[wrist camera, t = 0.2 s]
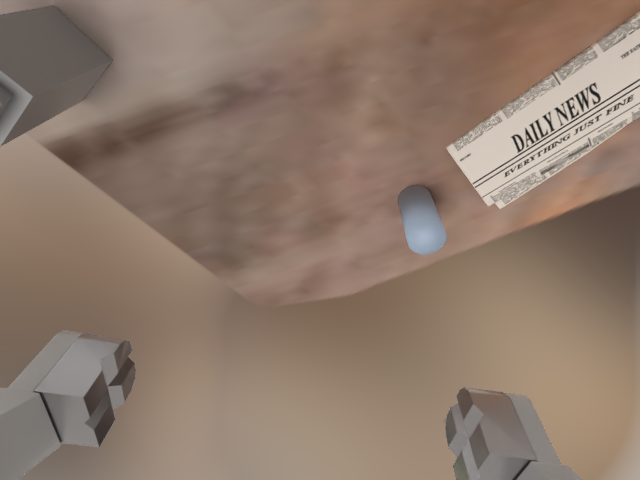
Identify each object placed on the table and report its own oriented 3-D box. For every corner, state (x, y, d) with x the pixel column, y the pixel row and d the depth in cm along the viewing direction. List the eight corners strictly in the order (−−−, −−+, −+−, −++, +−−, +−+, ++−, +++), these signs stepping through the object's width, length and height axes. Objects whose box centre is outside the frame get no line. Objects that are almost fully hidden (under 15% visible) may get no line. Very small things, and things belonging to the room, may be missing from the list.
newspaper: (491, 209, 52) (496, 218, 50) (443, 142, 47) (446, 148, 45) (682, 98, 42) (699, 103, 40) (643, 1, 38) (659, 1, 35)
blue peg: (402, 183, 49) (413, 221, 42) (435, 186, 49) (451, 226, 42) (394, 211, 52) (403, 252, 44) (426, 214, 52) (440, 256, 45)
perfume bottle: (54, 5, 38) (-117, 34, 24) (112, 60, 41) (-8, 115, 27) (25, 52, 41) (-142, 103, 27) (82, 100, 44) (-41, 169, 30)
